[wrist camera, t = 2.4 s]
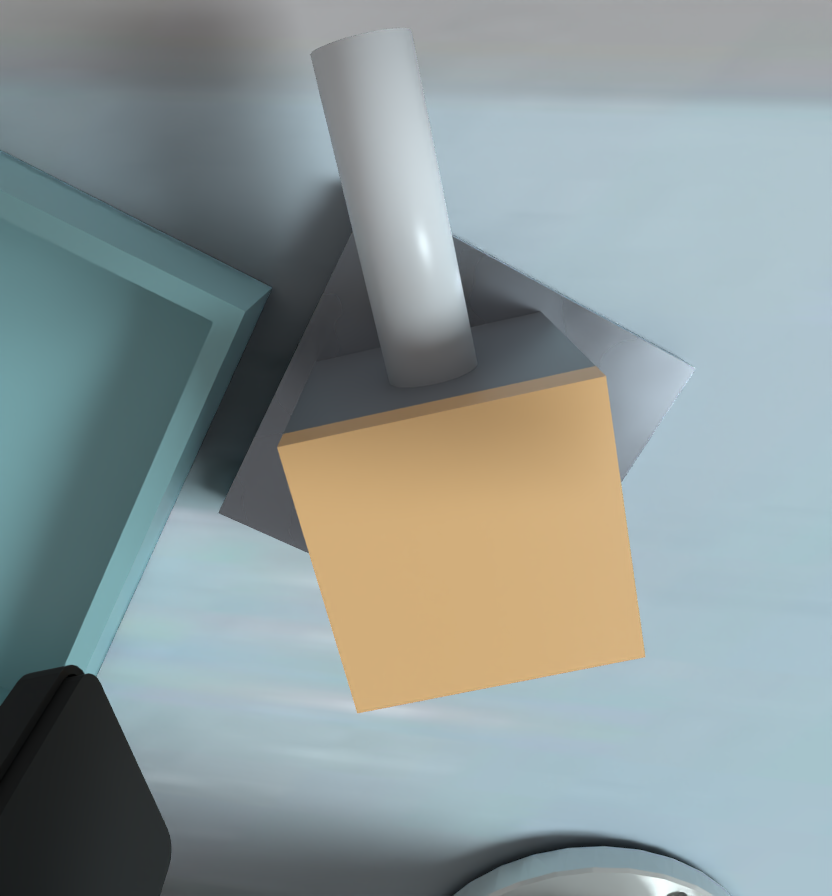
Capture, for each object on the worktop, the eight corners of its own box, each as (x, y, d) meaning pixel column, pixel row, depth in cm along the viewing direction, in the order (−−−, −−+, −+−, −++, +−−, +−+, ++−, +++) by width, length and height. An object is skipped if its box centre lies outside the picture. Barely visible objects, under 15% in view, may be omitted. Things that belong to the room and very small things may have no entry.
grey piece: (510, 624, 22) (544, 766, 17) (226, 497, 21) (166, 609, 16) (682, 359, 20) (786, 428, 14) (372, 191, 18) (360, 198, 13)
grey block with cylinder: (574, 517, 20) (645, 657, 14) (370, 559, 21) (357, 713, 15) (496, 38, 16) (548, -37, 11) (244, 99, 17) (159, 60, 11)
